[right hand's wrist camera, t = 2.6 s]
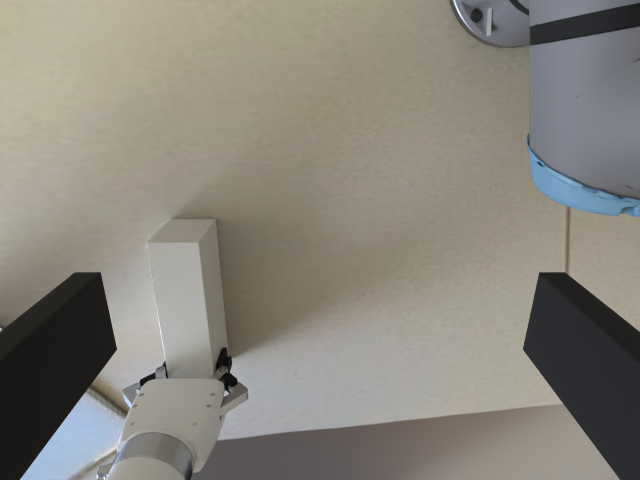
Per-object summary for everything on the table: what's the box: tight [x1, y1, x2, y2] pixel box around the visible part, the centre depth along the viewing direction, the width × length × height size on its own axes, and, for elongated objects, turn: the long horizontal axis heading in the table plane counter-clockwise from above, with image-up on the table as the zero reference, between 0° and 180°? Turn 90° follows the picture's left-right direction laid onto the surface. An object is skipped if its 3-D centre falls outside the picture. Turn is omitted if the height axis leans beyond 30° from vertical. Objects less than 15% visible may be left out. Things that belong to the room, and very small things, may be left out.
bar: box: [146, 219, 229, 379], centre depth 55 cm, size 22×6×8 cm, turn 0°
